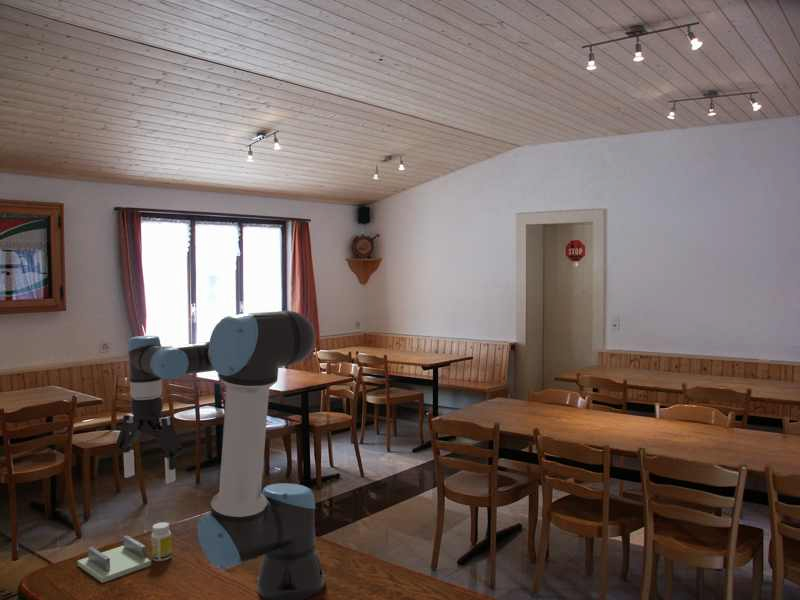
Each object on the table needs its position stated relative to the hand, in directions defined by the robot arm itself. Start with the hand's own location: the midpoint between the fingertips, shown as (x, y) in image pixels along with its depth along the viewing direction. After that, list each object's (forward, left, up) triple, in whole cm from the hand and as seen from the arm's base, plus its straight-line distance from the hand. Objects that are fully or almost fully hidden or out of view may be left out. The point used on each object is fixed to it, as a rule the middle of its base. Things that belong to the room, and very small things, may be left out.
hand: (149, 479), depth 170 cm
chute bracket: (+1, +9, -18) cm, 20 cm away
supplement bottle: (-4, -1, -20) cm, 20 cm away
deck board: (+1, +9, -20) cm, 22 cm away
